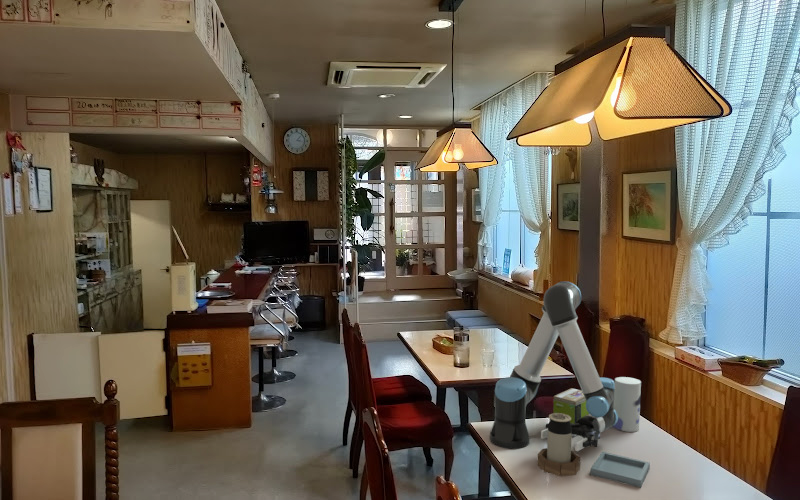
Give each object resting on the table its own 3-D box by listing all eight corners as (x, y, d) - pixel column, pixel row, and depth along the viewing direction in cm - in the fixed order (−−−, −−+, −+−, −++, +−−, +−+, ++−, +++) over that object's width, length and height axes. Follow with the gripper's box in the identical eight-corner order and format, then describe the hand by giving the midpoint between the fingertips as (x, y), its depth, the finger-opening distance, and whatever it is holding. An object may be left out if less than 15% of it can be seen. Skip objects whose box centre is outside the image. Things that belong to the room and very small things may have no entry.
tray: (590, 475, 196) (590, 468, 196) (602, 458, 210) (602, 451, 210) (640, 487, 188) (641, 480, 187) (649, 469, 201) (649, 462, 201)
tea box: (570, 421, 246) (571, 387, 245) (592, 427, 239) (594, 392, 238) (552, 430, 236) (553, 394, 235) (574, 437, 228) (575, 400, 227)
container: (641, 433, 234) (643, 384, 232) (615, 431, 236) (617, 382, 234) (636, 424, 243) (638, 377, 242) (611, 422, 245) (613, 375, 244)
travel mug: (547, 471, 199) (549, 420, 198) (545, 461, 207) (547, 411, 205) (571, 473, 198) (573, 421, 196) (568, 462, 205) (570, 413, 204)
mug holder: (533, 469, 200) (533, 458, 200) (546, 455, 211) (546, 444, 211) (572, 479, 193) (572, 467, 193) (583, 464, 204) (583, 453, 204)
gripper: (621, 445, 206) (591, 463, 191) (560, 426, 224) (528, 440, 209) (622, 425, 205) (592, 441, 191) (560, 407, 223) (528, 420, 209)
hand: (558, 440), depth 200 cm, fingers open, 13 cm apart
